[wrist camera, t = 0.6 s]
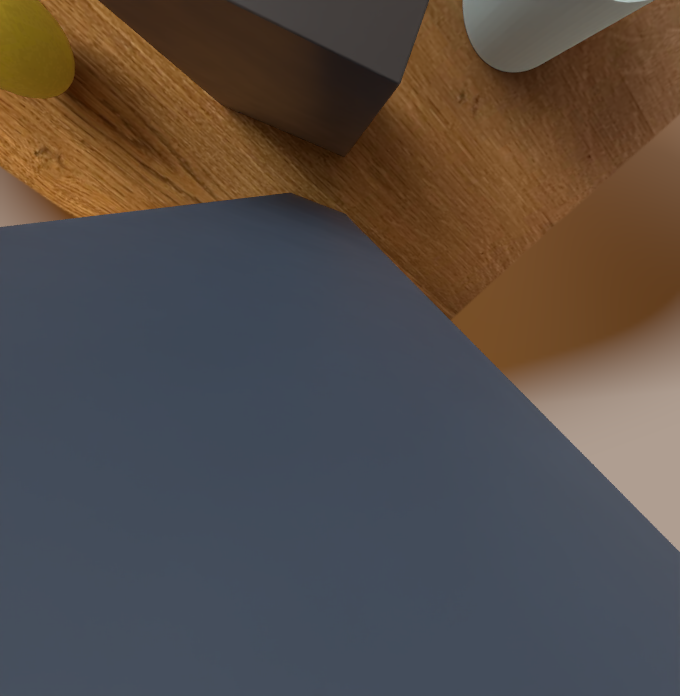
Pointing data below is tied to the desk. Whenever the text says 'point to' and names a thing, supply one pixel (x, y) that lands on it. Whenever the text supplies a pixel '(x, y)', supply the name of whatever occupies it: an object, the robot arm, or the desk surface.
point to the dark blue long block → (292, 480)
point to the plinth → (287, 57)
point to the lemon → (33, 51)
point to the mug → (536, 27)
